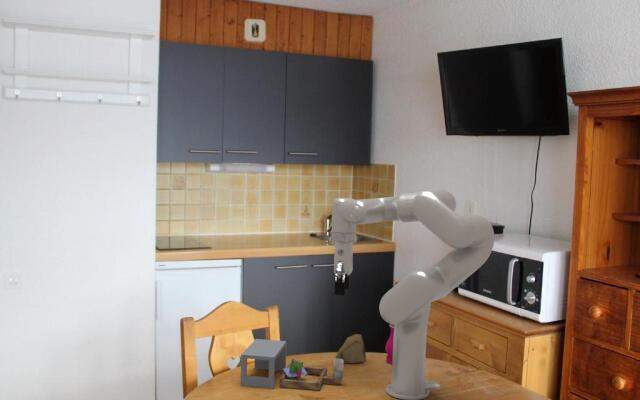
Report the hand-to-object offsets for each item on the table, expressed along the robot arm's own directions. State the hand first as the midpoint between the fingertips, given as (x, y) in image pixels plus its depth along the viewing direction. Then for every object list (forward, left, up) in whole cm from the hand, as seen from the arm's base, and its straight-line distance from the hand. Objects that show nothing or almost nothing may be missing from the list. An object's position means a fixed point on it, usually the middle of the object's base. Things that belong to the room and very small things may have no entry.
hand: (341, 291), depth 213 cm
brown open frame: (+6, +10, -26) cm, 29 cm away
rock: (-2, -13, -27) cm, 30 cm away
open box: (+22, +10, -26) cm, 36 cm away
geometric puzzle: (+12, +11, -26) cm, 31 cm away
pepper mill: (-17, -16, -26) cm, 35 cm away
